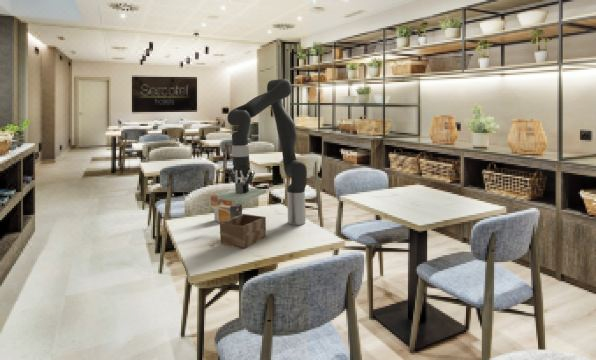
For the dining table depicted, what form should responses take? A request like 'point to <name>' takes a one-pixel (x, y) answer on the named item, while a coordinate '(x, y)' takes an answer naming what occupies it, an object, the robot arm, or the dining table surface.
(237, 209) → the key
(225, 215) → the small box
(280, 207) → the dining table surface
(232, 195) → the lid
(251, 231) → the wooden box
